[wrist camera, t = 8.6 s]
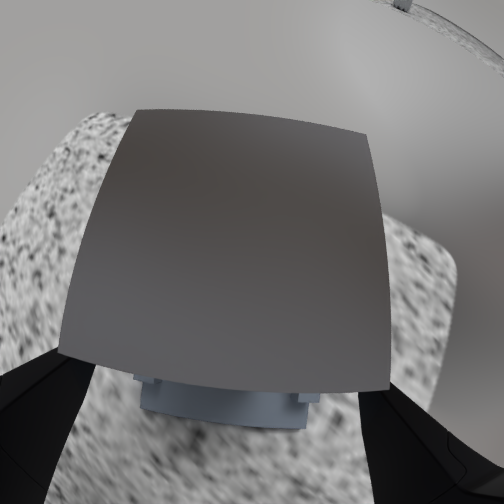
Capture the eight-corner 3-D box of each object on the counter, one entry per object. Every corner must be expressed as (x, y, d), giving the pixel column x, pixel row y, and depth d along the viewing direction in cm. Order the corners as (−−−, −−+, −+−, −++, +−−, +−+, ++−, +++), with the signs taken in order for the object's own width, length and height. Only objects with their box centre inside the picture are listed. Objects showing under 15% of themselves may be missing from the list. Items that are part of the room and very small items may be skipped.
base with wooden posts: (301, 425, 16) (350, 460, 8) (144, 406, 15) (90, 428, 8) (314, 254, 20) (357, 193, 13) (173, 236, 20) (147, 165, 13)
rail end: (267, 372, 16) (389, 389, 3) (187, 364, 16) (57, 352, 3) (272, 296, 18) (366, 134, 5) (196, 288, 18) (136, 109, 5)
